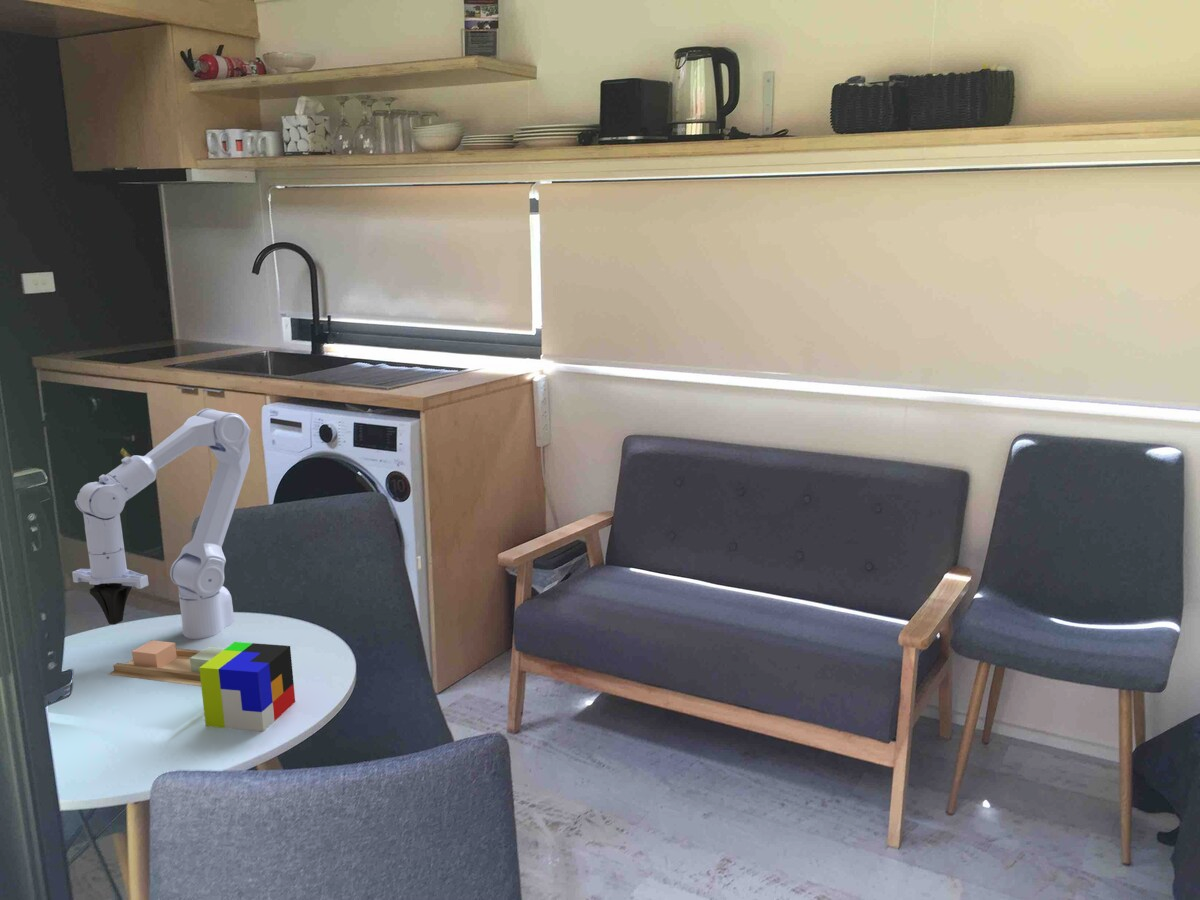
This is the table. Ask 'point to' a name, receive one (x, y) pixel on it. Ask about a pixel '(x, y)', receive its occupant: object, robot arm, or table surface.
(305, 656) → the table surface
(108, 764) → the table surface
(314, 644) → the table surface
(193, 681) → the oak channel board
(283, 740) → the table surface
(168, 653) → the peach pink cube
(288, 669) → the puzzle toy
